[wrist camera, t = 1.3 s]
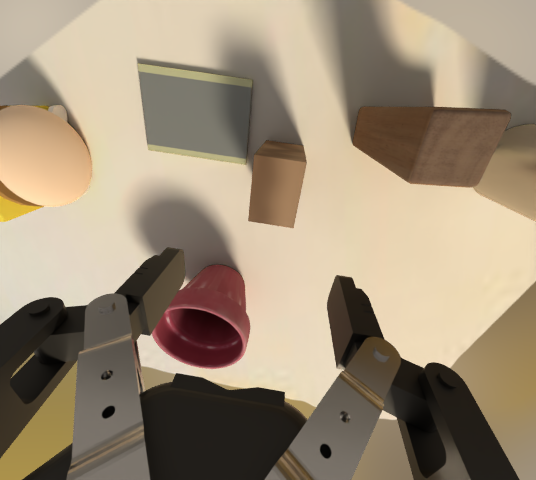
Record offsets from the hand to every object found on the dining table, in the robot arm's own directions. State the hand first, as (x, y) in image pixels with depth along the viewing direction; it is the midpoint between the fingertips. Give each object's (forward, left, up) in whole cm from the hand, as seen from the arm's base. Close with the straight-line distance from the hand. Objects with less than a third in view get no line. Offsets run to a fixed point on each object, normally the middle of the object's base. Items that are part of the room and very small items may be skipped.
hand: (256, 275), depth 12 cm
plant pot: (+8, +23, -25) cm, 35 cm away
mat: (+12, -5, -24) cm, 28 cm away
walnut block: (0, 0, -24) cm, 24 cm away
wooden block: (-13, -7, -25) cm, 29 cm away
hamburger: (+31, +2, -25) cm, 40 cm away
